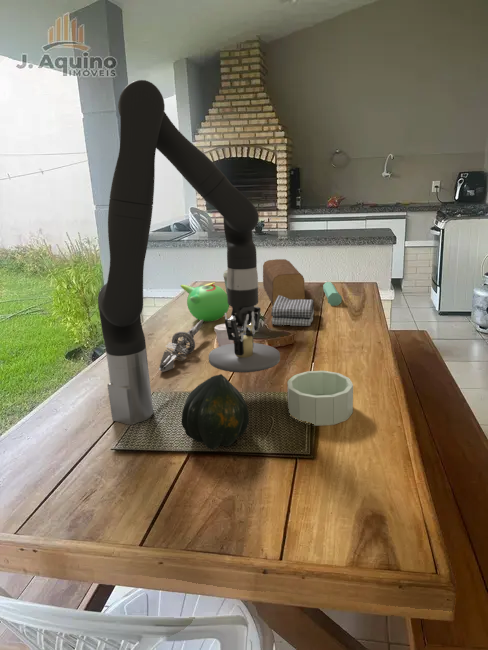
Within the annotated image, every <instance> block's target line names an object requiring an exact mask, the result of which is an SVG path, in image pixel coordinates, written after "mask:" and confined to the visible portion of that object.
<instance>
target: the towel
mask: <svg viewBox="0 0 488 650" xmlns="http://www.w3.org/2000/svg"><path fill="white" fill-rule="evenodd" d="M314 306H315V305H314V299H311V298H310V299H307V298H305V300H304V299H302V300H301V299H300V300H298V299H296V300H290V299H288V298H286V297H283V296H280V295H279V296H278V297H277V299H276V301H275V303H274V305H272V307H271V313H270V314H271V315H270V316H271V325H272V326H282V325H283V326H284V325H290V327H291V326H293V327H310V326H312V325H311V323H313V321H314V314H315V313H314V312H315V310H314V309H315V308H314ZM273 324H274V325H273Z"/></svg>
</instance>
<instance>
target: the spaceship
mask: <svg viewBox="0 0 488 650" xmlns="http://www.w3.org/2000/svg"><path fill="white" fill-rule="evenodd" d="M203 323H204V321H203V319H202V320H199V321H198V322H196V324H195V325H194V326H193V327H191V328H190V329H189V330H188V331H187V332H186V331H178V332H176V333H174V334H173V336H172V338H171V342H168V343H167V344H166V345H164V346H165V347H166V349H165V351H163V353H162V357H161V360H160V364H159V366H158V371H161V372H162V373H164V372H168V371H170V370H172V369H174V366H175V364H174V363H175V359H176V360H180V361H185V359H186V358H187V357H188V356H187V355H189V354H191V353H193V352H194V351H195V348H196V341H195V339H194V337H195V335H197V333H198V332H199V330H200V328H202V327H203ZM179 338H180V340H179ZM187 346H188V347H187Z"/></svg>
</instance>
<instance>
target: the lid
mask: <svg viewBox="0 0 488 650" xmlns="http://www.w3.org/2000/svg"><path fill="white" fill-rule="evenodd" d="M243 347H244V354H243V355H241V356H240V355H236V354H235V352H234V343H233V344H228V345H224V346H220V347H219V346H218V347H216V348H213V349H212V350H211V351H210V352H209V354H208V363H209V364H210V365H211V366H212V367H214V368H215V369H218V370H220V371H225V372H231V373H254V372H261V371H265V370H269V369H272V368H273V367H275V366H277V364H279V363H280V360H281V353H280V351H279V350H278V349H277V348H275V347H273V346H270V345H268V344H264V343H256V342H254V336H253V337H252V336H248V335H245V334H244V337H243Z"/></svg>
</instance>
